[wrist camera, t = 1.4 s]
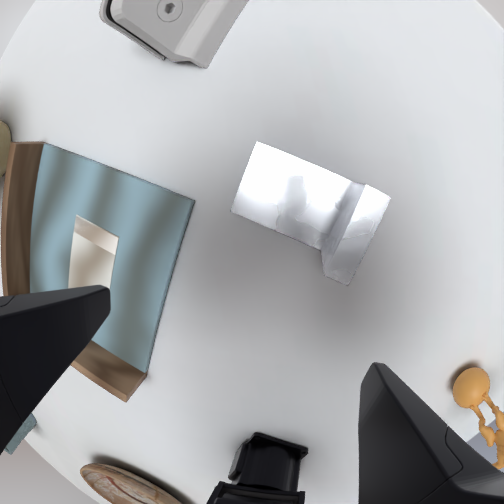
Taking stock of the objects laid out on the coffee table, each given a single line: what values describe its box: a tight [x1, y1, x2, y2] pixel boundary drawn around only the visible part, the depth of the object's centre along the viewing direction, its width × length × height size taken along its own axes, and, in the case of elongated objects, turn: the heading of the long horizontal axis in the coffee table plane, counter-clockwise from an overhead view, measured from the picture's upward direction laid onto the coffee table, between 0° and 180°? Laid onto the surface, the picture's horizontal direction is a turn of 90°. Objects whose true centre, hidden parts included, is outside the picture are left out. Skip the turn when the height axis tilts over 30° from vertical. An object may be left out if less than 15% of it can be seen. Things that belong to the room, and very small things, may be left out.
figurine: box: [453, 367, 504, 469], centre depth 15 cm, size 8×6×12 cm
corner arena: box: [1, 142, 195, 402], centre depth 22 cm, size 19×19×4 cm
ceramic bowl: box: [80, 463, 181, 504], centre depth 36 cm, size 23×24×5 cm
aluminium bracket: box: [230, 142, 391, 286], centre depth 17 cm, size 8×5×6 cm, turn 69°
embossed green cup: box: [4, 413, 36, 454], centre depth 36 cm, size 10×10×12 cm
